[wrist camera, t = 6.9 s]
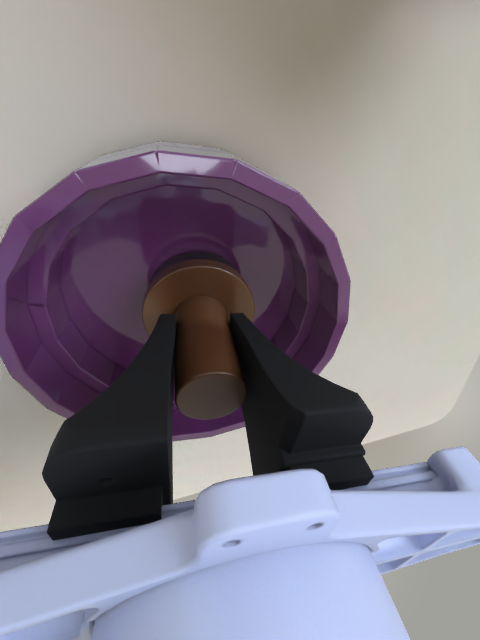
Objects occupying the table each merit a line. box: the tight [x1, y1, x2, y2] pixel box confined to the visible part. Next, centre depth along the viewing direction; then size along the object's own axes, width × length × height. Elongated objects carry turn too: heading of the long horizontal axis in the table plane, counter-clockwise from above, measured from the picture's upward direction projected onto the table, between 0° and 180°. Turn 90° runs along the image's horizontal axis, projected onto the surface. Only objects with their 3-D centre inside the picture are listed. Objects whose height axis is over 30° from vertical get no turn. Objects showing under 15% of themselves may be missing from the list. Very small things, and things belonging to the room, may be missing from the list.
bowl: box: [0, 141, 351, 441], centre depth 14 cm, size 15×15×4 cm
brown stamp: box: [142, 251, 255, 420], centre depth 13 cm, size 6×6×7 cm
